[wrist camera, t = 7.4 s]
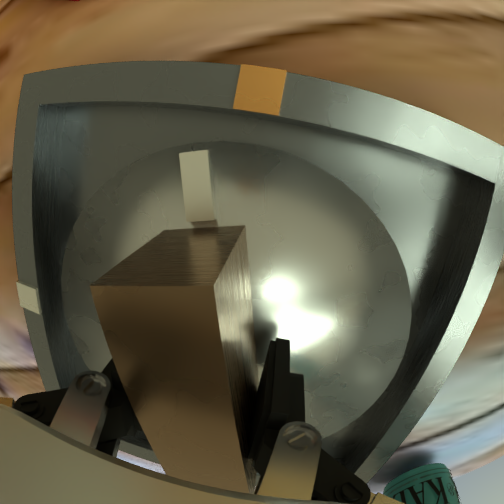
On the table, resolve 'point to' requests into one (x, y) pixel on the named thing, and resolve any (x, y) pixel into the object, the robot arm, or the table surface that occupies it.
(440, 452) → the table surface
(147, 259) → the dial
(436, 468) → the beverage bottle
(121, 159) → the dial housing
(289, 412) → the robot arm
